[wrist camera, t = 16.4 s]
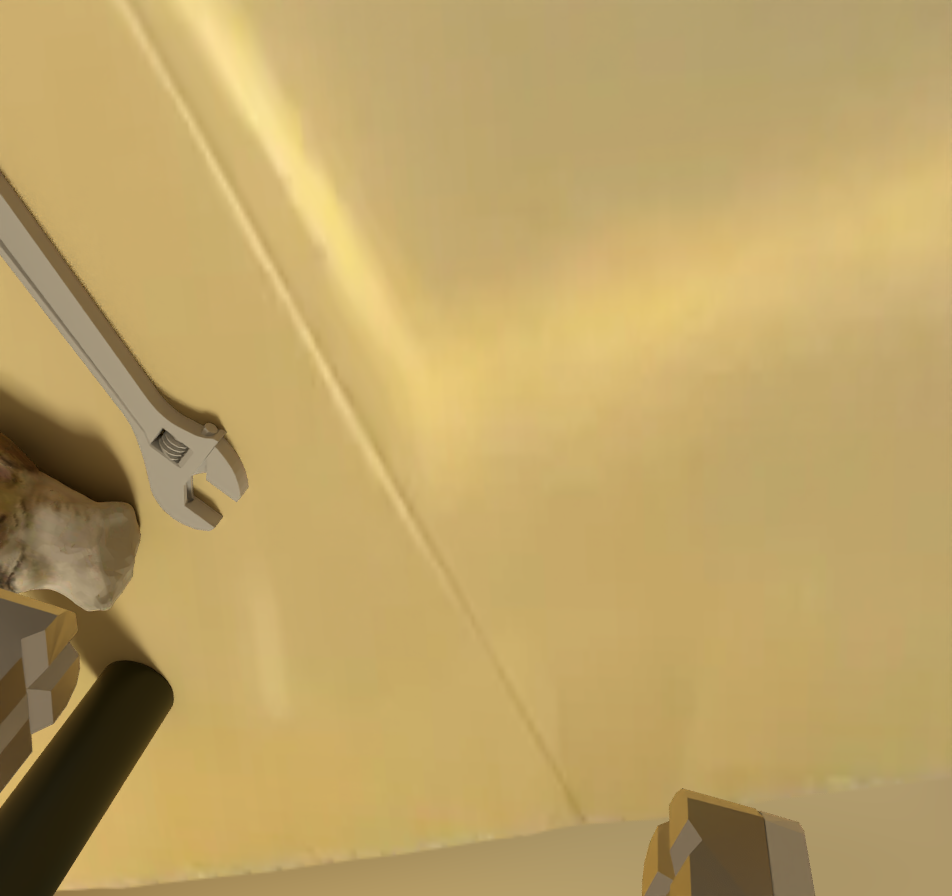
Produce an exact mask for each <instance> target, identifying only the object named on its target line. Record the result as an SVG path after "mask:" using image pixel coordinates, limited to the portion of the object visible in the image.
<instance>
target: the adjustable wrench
mask: <svg viewBox="0 0 952 896" xmlns="http://www.w3.org/2000/svg"><path fill="white" fill-rule="evenodd" d="M0 255H1V257H2V258H3V259H4V260H5V262H6V263H7V264H8V266H9V267H10V268H11V270H12V271H13V272H14V273H15V275H16V276H17V277H18V279H19V280H20V281H21V282H22V284H23V285H24V286H25V288H26V289H27V290H28V291H29V293H30V294H31V295H32V297H33V298H34V299H35V301H36V302H37V303H38V304H39V306H40V307H41V308H42V310H43V311H44V312H45V313H46V315H47V316H48V317H49V319H50V320H51V321H52V323H53V324H54V325H55V326H56V328H57V329H58V330H59V332H60V333H61V334H62V335H63V337H64V338H65V339H66V341H67V342H68V343H69V344H70V346H71V347H72V348H73V350H74V351H75V352H76V354H77V355H78V356H79V357H80V359H81V360H82V361H83V363H84V364H85V365H86V366H87V368H88V369H89V370H90V372H91V373H92V374H93V375H94V377H95V378H96V379H97V381H98V382H99V383H100V385H101V386H102V387H103V388H104V390H105V391H106V392H107V394H108V395H109V396H110V397H111V399H112V400H113V401H114V403H115V404H116V405H117V406H118V408H119V409H120V410H121V412H122V413H123V414H124V416H125V417H126V419H127V420H128V422H129V423H130V425H131V427H132V429H133V432H134V434H135V436H136V438H137V441H138V444H139V447H140V450H141V453H142V455H143V459H144V462H145V466H146V470H147V474H148V479H149V483H150V487H151V491H152V493H153V496H154V497H155V499H156V501H157V502H158V504H159V505H160V507H161V508H162V509H163V510H164V511H165V512H166V513H167V514H169V515H170V516H171V517H172V518H173V519H175V520H176V521H178V522H180V523H182V524H184V525H186V526H189V527H191V528H194V529H197V530H205V531H210V530H212V529H214V528H215V527H216V525H217V524H218V523H219V522H220V520H221V519H222V518H223V516H222V515H220V514H219V513H218V512H216V511H215V510H213V509H212V508H211V507H209V506H208V505H206V504H205V503H204V502H202V501H201V500H200V499H198V498H197V497H195V496H194V495H193V475H195V474H199V473H206V472H207V475H206V480H207V481H208V482H210V483H211V484H212V485H214V486H215V487H217V488H218V489H219V490H221V491H222V492H223V493H225V494H226V495H227V496H229V497H230V498H231V499H233V500H234V501H236V502H237V501H238V500H239V499H240V498H241V496H242V495H243V494H244V492H245V491H246V490H247V489H248V479H247V475H246V471H245V468H244V466H243V464H242V462H241V460H240V458H239V456H238V455H237V453H236V452H235V450H234V449H233V448H232V446H231V445H230V444H229V443H228V441H227V440H226V439H225V438H224V437H223V436H224V435H225V434H226V431H224V430H222V429H217V428H216V426H215V425H214V424H211V423H206V424H205V425H204V426H203V425H201V424H199V423H197V422H195V421H193V420H191V419H189V418H187V417H185V416H184V415H182V414H181V413H179V412H178V411H176V410H175V409H174V408H173V407H172V406H171V405H170V404H169V403H168V402H167V401H166V400H165V399H164V398H163V397H162V396H161V394H160V393H159V392H158V391H157V389H156V388H155V387H154V385H153V384H152V382H151V381H150V380H149V378H148V377H147V375H146V374H145V373H144V371H143V370H142V368H141V367H140V366H139V364H138V363H137V361H136V360H135V359H134V357H133V356H132V354H131V353H130V352H129V350H128V349H127V347H126V346H125V345H124V343H123V342H122V341H121V339H120V338H119V336H118V335H117V334H116V332H115V331H114V329H113V328H112V327H111V325H110V324H109V322H108V321H107V320H106V318H105V317H104V315H103V314H102V313H101V311H100V310H99V308H98V307H97V306H96V304H95V303H94V301H93V300H92V299H91V297H90V296H89V294H88V293H87V292H86V290H85V289H84V287H83V286H82V285H81V283H80V282H79V281H78V279H77V278H76V276H75V275H74V274H73V272H72V271H71V269H70V268H69V267H68V265H67V264H66V262H65V261H64V260H63V258H62V257H61V255H60V254H59V253H58V251H57V250H56V248H55V247H54V246H53V244H52V243H51V241H50V240H49V239H48V237H47V236H46V234H45V233H44V232H43V230H42V229H41V228H40V226H39V225H38V223H37V222H36V221H35V219H34V218H33V216H32V215H31V214H30V212H29V211H28V209H27V208H26V207H25V205H24V204H23V202H22V201H21V200H20V198H19V197H18V195H17V194H16V193H15V191H14V190H13V188H12V187H11V186H10V184H9V183H8V181H7V180H6V179H5V177H4V176H3V174H2V173H1V172H0ZM163 429H165V430H166V432H164V434H163V436H160V433H161V432H162V431H163Z"/></svg>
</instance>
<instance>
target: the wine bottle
mask: <svg viewBox="0 0 952 896" xmlns="http://www.w3.org/2000/svg"><path fill="white" fill-rule="evenodd" d="M173 701H174V697H173V692H172V690H171V688H170V686H169V684H168V683H167V682H166V680H165V679H164V678H163V677H162V676H161V675H160V674H158V673H157V672H156V671H154V670H153V669H151V668H149V667H147V666H145V665H142V664H139V663H136V662H130V661H119V662H115V663H112V664H110V665H109V666H107V667H106V668H105V670H104V671H103V672H102V674H101V675H100V676H99V678H98V679H97V680H96V682H95V683H94V684H93V686H92V687H91V688H90V690H89V691H88V692H87V694H86V695H85V696H84V698H83V699H82V700H81V702H80V703H79V704H78V706H77V707H76V708H75V710H74V711H73V712H72V714H71V715H70V716H69V718H68V719H67V720H66V722H65V723H64V724H63V726H62V727H61V728H60V730H59V731H58V732H57V734H56V735H55V736H54V738H53V739H52V740H51V742H50V743H49V744H48V746H47V747H46V748H45V749H44V751H43V752H42V753H41V755H40V756H39V757H38V759H37V760H36V761H35V763H34V764H33V765H32V767H31V768H30V769H29V771H28V772H27V773H26V775H25V776H24V777H23V779H22V780H21V781H20V783H19V784H18V785H17V787H16V788H15V789H14V791H13V792H12V793H11V795H10V796H9V797H8V799H7V800H6V801H5V803H4V804H3V805H2V807H1V808H0V896H53V895H54V893H55V892H56V890H57V889H58V887H59V885H60V884H61V882H62V881H63V879H64V877H65V876H66V874H67V873H68V871H69V870H70V868H71V866H72V865H73V863H74V862H75V860H76V858H77V857H78V855H79V854H80V852H81V850H82V849H83V847H84V846H85V844H86V843H87V841H88V839H89V838H90V836H91V835H92V833H93V831H94V830H95V828H96V827H97V825H98V823H99V822H100V820H101V819H102V817H103V815H104V814H105V812H106V811H107V809H108V808H109V806H110V804H111V803H112V801H113V800H114V798H115V796H116V795H117V793H118V792H119V790H120V788H121V787H122V785H123V784H124V782H125V781H126V779H127V777H128V776H129V774H130V773H131V771H132V769H133V768H134V766H135V765H136V763H137V761H138V760H139V758H140V757H141V755H142V754H143V752H144V750H145V749H146V747H147V746H148V744H149V742H150V741H151V739H152V738H153V736H154V734H155V733H156V731H157V730H158V728H159V726H160V725H161V723H162V722H163V720H164V719H165V717H166V715H167V714H168V712H169V711H170V709H171V707H172V705H173Z"/></svg>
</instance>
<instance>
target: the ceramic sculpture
mask: <svg viewBox="0 0 952 896" xmlns="http://www.w3.org/2000/svg"><path fill="white" fill-rule="evenodd" d="M140 537H141V534H140V529H139V526H138V523H137V520H136V515H135V511H134V509H133V507H132V506H131V505H130V504H128V503H125V502H95V501H93V500H91V499H89V498H88V497H86V496H84V495H83V494H81V493H79V492H77V491H74V490H72V489H70V488H69V487H67V486H66V485H64V484H62V483H61V482H59V481H57V480H56V479H54V478H52V477H50V476H48V475H46V474H44V473H43V472H41V471H39V470H38V468H37V467H36V465H35V464H34V463H33V462H32V461H31V460H30V459H29V458H28V457H27V456H26V455H25V454H24V453H23V452H22V451H21V450H20V448H19V447H18V446H17V445H16V444H15V443H14V442H13V441H12V440H11V439H9V438H8V437H7V436H5V435H4V434H2V433H0V588H1V589H4V590H7V591H10V592H14V593H17V594H18V593H20V592H26V591H29V590H37V589H50V590H53V591H56V592H58V593H61V594H63V595H64V596H66V597H68V598H69V599H70V600H71V601H73V602H74V603H75V604H76V605H78V606H80V607H81V608H83V609H84V610H86V611H97V610H102V611H107V610H108V609H110V608H111V607H112V605H113V604H114V602H115V601H116V599H117V598H118V597H119V596H120V594H121V593H122V592H123V590H124V589H125V587H126V586H127V584H128V583H129V581H130V580H131V578H132V576H133V567H134V563H135V556H136V553H137V549H138V546H139V543H140Z"/></svg>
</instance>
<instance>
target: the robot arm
mask: <svg viewBox="0 0 952 896" xmlns="http://www.w3.org/2000/svg"><path fill="white" fill-rule="evenodd" d="M77 632H78V628H77V619H76V613H74V612H72V611H69V610H66V609H63V608H60V607H57V606H54V605H51V604H48V603H45V602H42V601H38V600H35V599H32V598H29V597H26V596H23V595H20V594H17V593H14V592H10V591H7V590H4V589H1V588H0V793H1V791H2V790H3V789H4V787H5V786H6V785H7V784H8V782H9V781H10V780H11V778H12V777H13V776H14V775H15V773H16V772H17V771H18V769H19V768H20V767H21V765H22V764H23V763H24V762H25V760H26V759H27V758H28V756H29V755H30V754H31V752H32V736H31V734H33V733H35V732H37V731H39V730H41V729H44V728H46V727H48V726H50V725H52V724H54V722H55V721H56V720H57V718H58V717H59V716H60V714H61V713H62V711H63V710H64V709H65V707H66V706H67V704H68V702H69V700H70V697H71V695H72V693H73V691H74V689H75V687H76V685H77V680H78V675H79V670H80V660H79V654H78V653H77V651H76V650H75V649H74V647H73V646H72V645H71V643H70V642H69V641H70V640H71V639H72V638H73V636H74V635H75V634H76V633H77ZM642 896H815V891H814V886H813V880H812V874H811V868H810V863H809V858H808V851H807V846H806V840H805V835H804V830H803V828H802V827H801V825H800V823H799V822H796V821H793V820H790V819H786V818H782V817H779V816H776V815H773V814H769V813H765V812H762V811H757V810H756V809H755V808H751V807H748V806H744V805H740V804H737V803H733V802H730V801H726V800H722V799H719V798H715V797H712V796H708V795H704V794H701V793H697V792H694V791H690V790H686V789H683V788H682V789H681V790H679V791H678V792H676V794H675V796H674V797H673V799H672V801H671V803H670V804H669V821H668V822H666V823H663V824H661V825H658V826H657V829H656V831H655V833H654V835H653V837H652V839H651V841H650V844H649V847H648V851H647V855H646V859H645V862H644V871H643V879H642Z"/></svg>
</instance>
